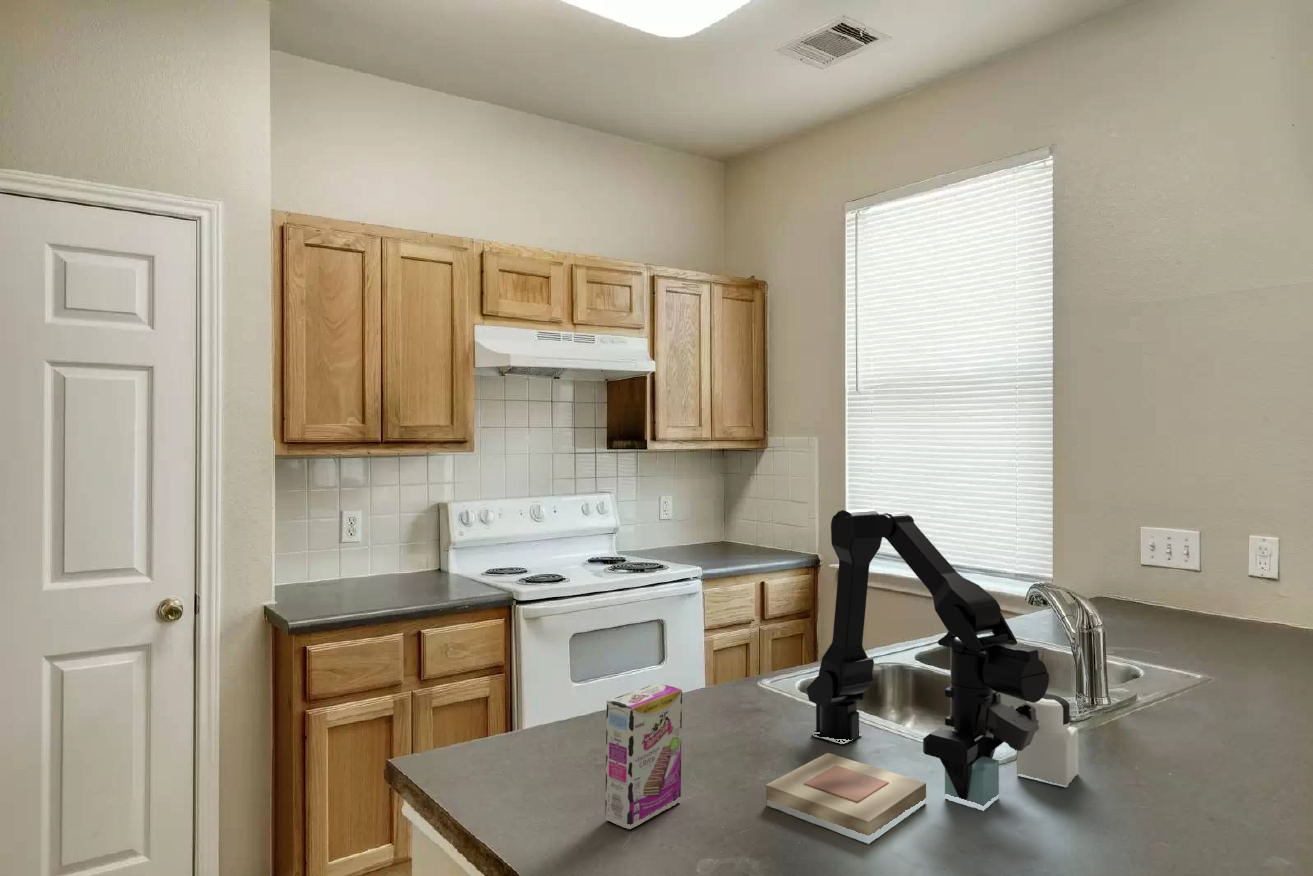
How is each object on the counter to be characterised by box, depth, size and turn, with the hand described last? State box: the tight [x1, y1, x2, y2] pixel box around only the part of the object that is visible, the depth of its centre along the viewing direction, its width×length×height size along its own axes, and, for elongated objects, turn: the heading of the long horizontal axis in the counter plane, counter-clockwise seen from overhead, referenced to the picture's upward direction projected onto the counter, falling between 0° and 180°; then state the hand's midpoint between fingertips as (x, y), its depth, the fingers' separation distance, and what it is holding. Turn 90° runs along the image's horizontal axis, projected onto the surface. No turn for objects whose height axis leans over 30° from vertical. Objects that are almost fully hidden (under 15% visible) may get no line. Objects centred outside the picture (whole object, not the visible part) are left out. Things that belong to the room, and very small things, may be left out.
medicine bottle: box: [1016, 693, 1079, 786], centre depth 125 cm, size 7×7×12 cm
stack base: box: [765, 752, 927, 836], centre depth 115 cm, size 16×16×3 cm
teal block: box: [944, 756, 1000, 806], centre depth 117 cm, size 6×6×6 cm
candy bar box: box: [604, 682, 683, 825], centre depth 113 cm, size 11×5×16 cm, turn 141°
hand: (971, 792), depth 117 cm, fingers closed on teal block, 5 cm apart
